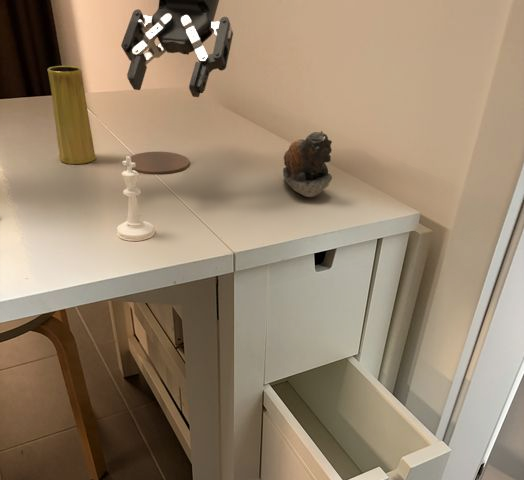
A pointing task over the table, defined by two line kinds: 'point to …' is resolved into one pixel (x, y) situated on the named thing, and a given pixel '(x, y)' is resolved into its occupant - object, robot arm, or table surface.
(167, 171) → the coaster
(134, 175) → the chess piece
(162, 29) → the robot arm
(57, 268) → the table surface
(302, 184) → the bison figurine
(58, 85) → the vase
